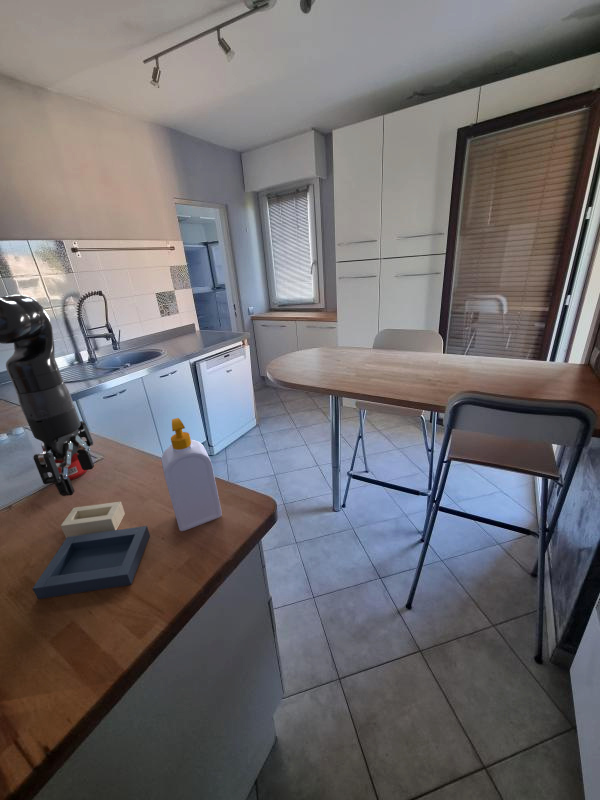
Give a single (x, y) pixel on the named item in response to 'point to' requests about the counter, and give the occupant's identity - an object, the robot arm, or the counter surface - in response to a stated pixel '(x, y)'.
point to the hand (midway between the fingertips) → (79, 481)
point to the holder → (93, 562)
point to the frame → (93, 519)
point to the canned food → (71, 466)
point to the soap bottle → (190, 480)
